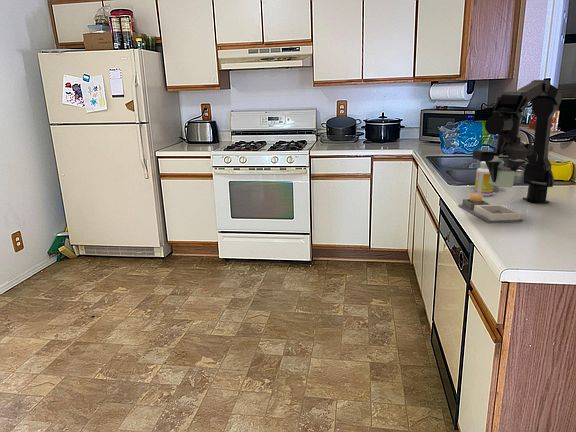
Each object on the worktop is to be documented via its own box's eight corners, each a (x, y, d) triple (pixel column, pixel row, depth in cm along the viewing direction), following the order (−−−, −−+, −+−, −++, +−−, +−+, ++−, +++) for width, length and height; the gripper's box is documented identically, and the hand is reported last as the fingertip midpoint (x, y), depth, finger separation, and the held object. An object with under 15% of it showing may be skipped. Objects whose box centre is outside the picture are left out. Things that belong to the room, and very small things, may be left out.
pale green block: (489, 183, 146) (491, 165, 144) (502, 183, 146) (504, 165, 145) (499, 187, 140) (501, 169, 139) (512, 187, 141) (515, 168, 139)
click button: (467, 201, 156) (468, 193, 155) (477, 201, 157) (478, 192, 156) (472, 204, 152) (473, 196, 151) (483, 204, 153) (484, 195, 152)
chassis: (458, 206, 158) (459, 198, 158) (488, 205, 160) (489, 197, 159) (487, 222, 139) (488, 214, 139) (522, 221, 140) (523, 213, 140)
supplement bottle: (495, 194, 175) (500, 162, 171) (485, 197, 171) (490, 164, 167) (480, 191, 180) (484, 160, 176) (470, 193, 176) (474, 161, 173)
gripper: (493, 135, 130) (486, 187, 134) (553, 135, 132) (544, 187, 136) (474, 132, 141) (468, 180, 145) (530, 132, 143) (522, 180, 147)
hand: (501, 182), depth 143 cm, fingers closed on pale green block, 4 cm apart
